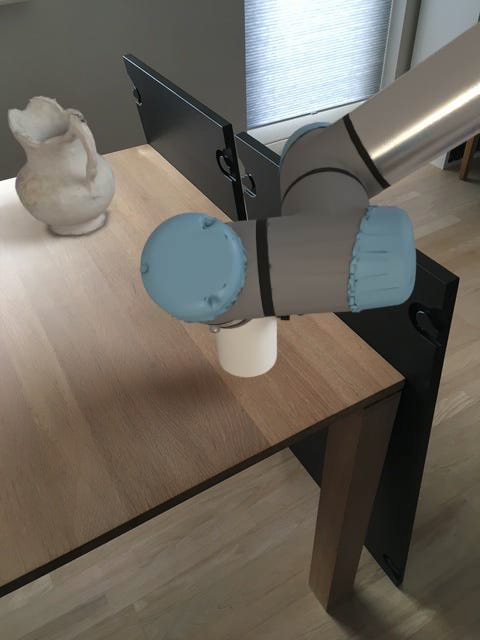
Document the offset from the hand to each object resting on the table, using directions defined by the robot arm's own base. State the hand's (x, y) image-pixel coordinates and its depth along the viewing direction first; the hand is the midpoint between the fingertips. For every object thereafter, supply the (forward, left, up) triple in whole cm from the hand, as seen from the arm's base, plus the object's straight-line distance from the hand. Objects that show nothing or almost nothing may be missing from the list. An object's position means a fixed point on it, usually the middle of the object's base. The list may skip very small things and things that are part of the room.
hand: (248, 306), depth 74 cm
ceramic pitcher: (+31, -46, -12) cm, 56 cm away
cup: (+1, +3, -6) cm, 7 cm away
